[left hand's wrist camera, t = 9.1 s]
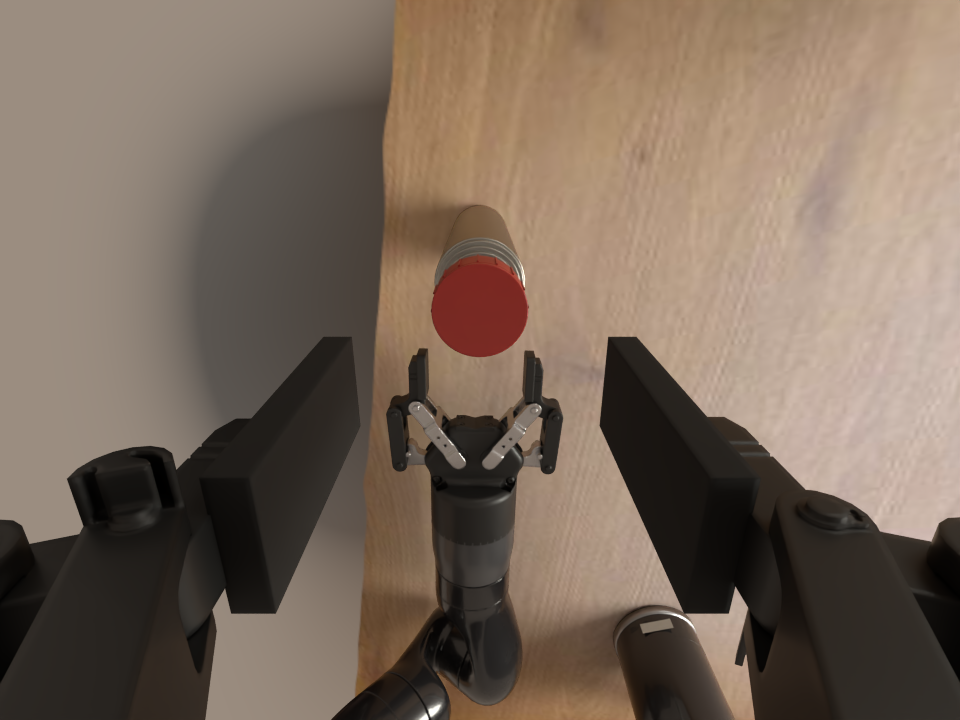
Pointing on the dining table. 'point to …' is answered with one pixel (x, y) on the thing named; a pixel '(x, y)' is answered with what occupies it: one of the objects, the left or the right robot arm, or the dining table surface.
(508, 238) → the bottle
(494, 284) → the cap
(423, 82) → the dining table surface
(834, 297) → the dining table surface
